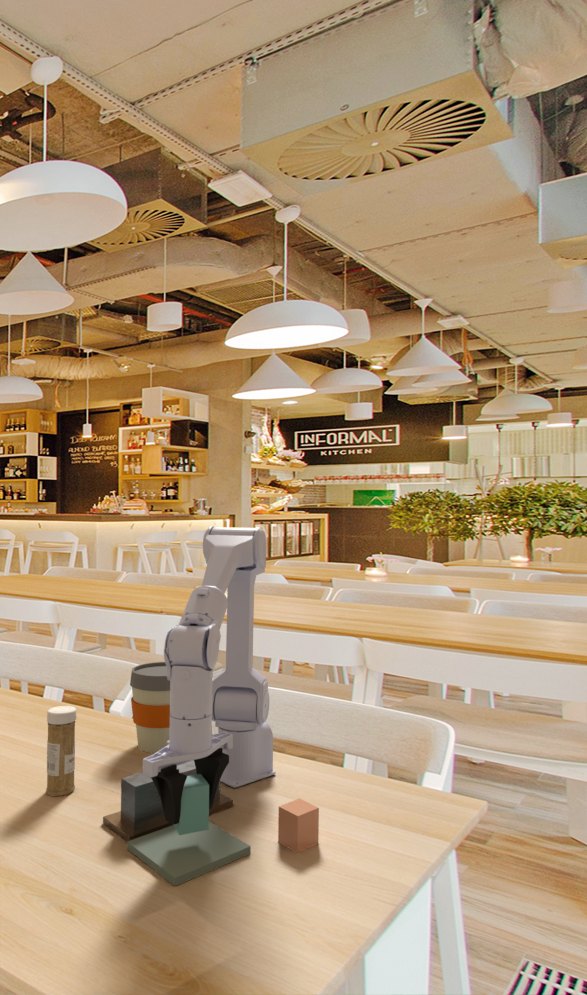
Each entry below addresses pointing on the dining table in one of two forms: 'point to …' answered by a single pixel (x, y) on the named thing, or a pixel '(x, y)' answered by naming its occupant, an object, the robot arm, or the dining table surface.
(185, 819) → the block
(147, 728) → the reusable coffee cup
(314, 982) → the dining table surface
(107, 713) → the dining table surface
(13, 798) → the dining table surface
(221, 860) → the pad
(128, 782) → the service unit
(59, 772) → the spice jar
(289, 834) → the terracotta block
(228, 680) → the robot arm
